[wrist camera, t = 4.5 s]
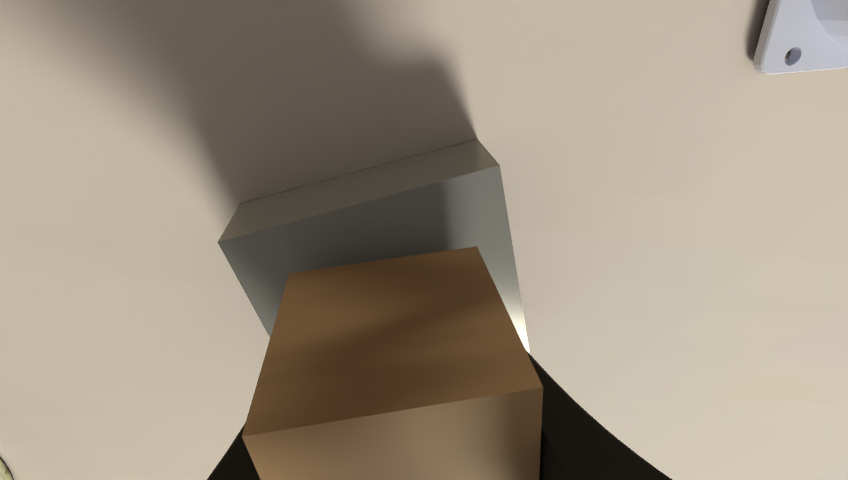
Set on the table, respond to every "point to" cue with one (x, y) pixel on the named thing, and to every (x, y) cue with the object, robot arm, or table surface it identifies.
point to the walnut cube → (396, 377)
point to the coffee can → (4, 472)
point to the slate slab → (377, 224)
